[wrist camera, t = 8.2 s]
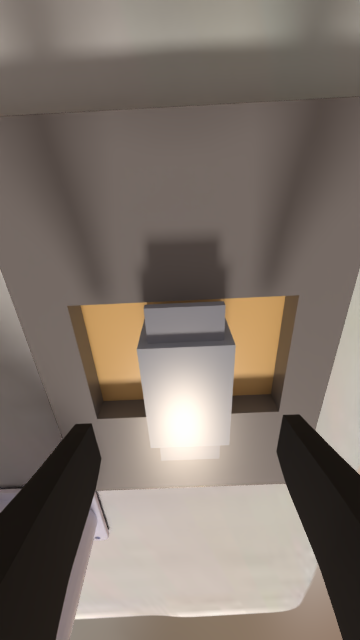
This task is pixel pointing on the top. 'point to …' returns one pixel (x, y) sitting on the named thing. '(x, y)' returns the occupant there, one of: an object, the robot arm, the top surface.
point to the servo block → (187, 378)
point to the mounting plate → (183, 263)
